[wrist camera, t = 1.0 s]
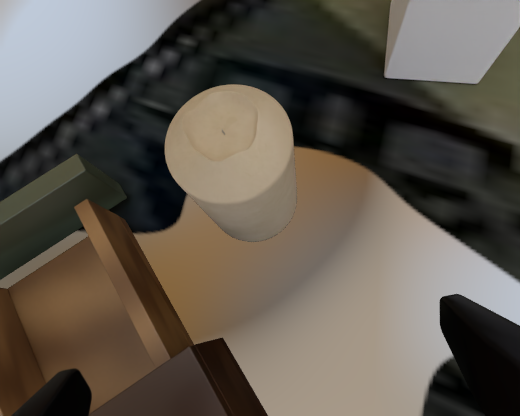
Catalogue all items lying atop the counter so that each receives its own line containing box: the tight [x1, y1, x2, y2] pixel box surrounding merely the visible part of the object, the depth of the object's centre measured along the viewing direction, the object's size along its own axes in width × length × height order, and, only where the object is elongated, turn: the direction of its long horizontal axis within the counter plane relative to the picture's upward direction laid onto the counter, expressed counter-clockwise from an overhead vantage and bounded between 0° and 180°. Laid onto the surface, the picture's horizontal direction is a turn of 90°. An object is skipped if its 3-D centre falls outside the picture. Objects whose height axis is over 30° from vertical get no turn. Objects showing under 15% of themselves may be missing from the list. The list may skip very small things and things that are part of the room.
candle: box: [165, 84, 297, 242], centre depth 19 cm, size 6×6×10 cm
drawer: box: [0, 154, 194, 416], centre depth 20 cm, size 14×10×5 cm
